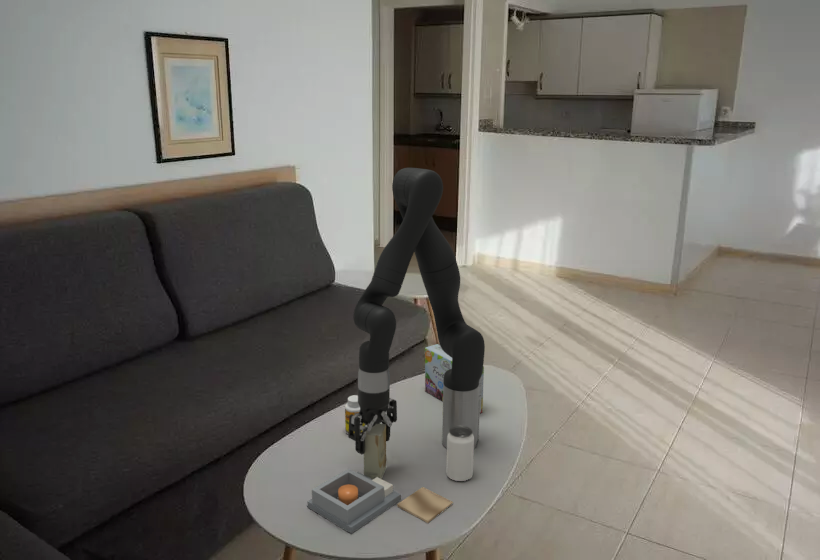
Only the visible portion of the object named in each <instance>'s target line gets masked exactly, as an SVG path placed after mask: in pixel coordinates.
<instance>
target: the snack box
mask: <svg viewBox="0 0 820 560" xmlns="http://www.w3.org/2000/svg"><path fill="white" fill-rule="evenodd" d="M449 369H452V357H450V356H449V355H447V354H446V353H445V352H444V351H443V350H442V348H441V346H440V344H439V343H436V344H433V345H429V346H426V347H425V348H424V391H425V392H426V393H427V394H429V395H431V396H432V397H434V398H436V399H438V400H439V401H442V402H443V379H444V374H445V372H446V371H447V370H449ZM484 373H485V366H484V365H483V372H482V376H481V378H480V380H479V400H478V408H479V409H480V414H481V413H483V411H484V410H483V409H484V408H483V407H484V378H485V377H484V376H485V375H484Z"/></svg>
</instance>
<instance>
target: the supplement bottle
mask: <svg viewBox="0 0 820 560" xmlns="http://www.w3.org/2000/svg"><path fill="white" fill-rule="evenodd" d="M359 412H360V406H359V404H358V394H354V395H349V396H348V397H347V403H346V404H345V405H344V420H345V421H344V423H345V424H344V426H345V433H346V434H347V435H348V434H349V416H350V415H351V414H352V415H357V414H359ZM362 426H363V427H365V428H366V427H367V425H365V424H364V423H363V425H362ZM362 432H363V430H361V432H360V435H361V434H362Z"/></svg>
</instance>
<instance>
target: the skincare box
mask: <svg viewBox="0 0 820 560" xmlns="http://www.w3.org/2000/svg"><path fill="white" fill-rule="evenodd" d="M364 440H365V453H364V454H363V475H365V476H367V477H369V478H371V479H375V478H376V477H378V478H380V479H382V480H383V478H384V474H385V472H386V470H387V441H386V424H382V423H379V424H376V425H375V426H373V427H372V428H371V430H370V432H369V433H367V435H366V437H365V439H364Z"/></svg>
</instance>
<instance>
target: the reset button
mask: <svg viewBox="0 0 820 560" xmlns="http://www.w3.org/2000/svg"><path fill="white" fill-rule="evenodd" d="M357 499H359V496H358V488H357V487H356V486H354V485H350V484H348V485H343V486H341V487H340V488H339V489H338V498H337V500H339V501H341V502H342V503H344V504H346V505H349V504H351V503H352V502H354V501H355V500H357Z"/></svg>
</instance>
